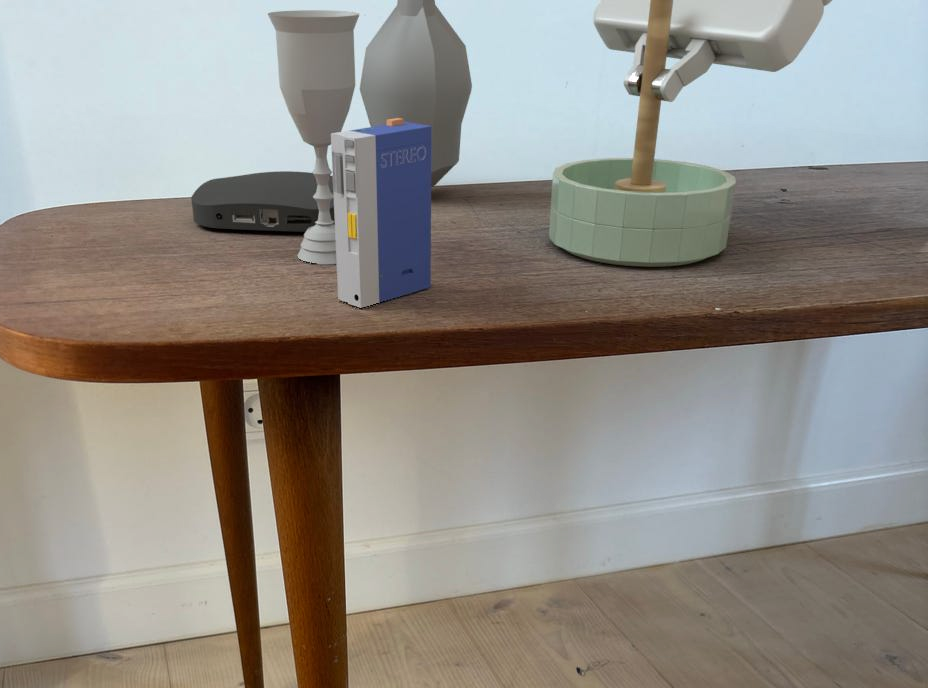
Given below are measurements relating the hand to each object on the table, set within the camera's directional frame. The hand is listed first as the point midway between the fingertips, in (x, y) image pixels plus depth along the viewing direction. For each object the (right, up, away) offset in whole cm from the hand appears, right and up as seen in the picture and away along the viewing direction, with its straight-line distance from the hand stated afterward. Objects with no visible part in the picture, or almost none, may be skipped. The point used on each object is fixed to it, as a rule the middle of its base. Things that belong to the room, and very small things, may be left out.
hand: (646, 93), depth 87 cm
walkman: (-21, -19, -6) cm, 29 cm away
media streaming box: (-33, -4, +15) cm, 36 cm away
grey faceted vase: (-20, +1, +23) cm, 31 cm away
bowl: (0, -10, +7) cm, 12 cm away
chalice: (-27, -13, +3) cm, 30 cm away
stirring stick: (0, -6, +5) cm, 8 cm away
